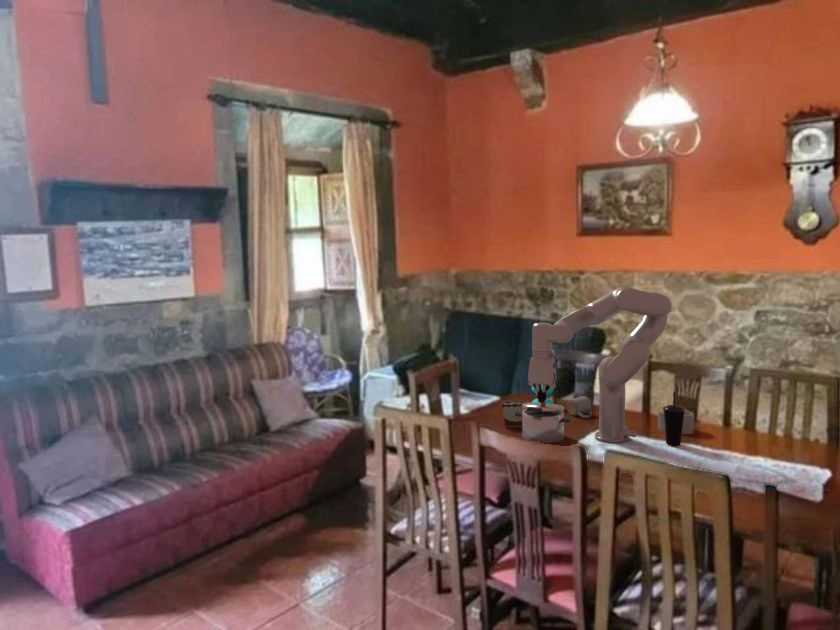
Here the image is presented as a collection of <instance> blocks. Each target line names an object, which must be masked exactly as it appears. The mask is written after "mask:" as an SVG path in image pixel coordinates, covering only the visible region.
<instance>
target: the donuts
mask: <svg viewBox="0 0 840 630" xmlns="http://www.w3.org/2000/svg"><path fill="white" fill-rule="evenodd" d="M541 387H542V388H543V385H542V384H541ZM554 389H555V388H550V389H548V390H547V391H546V395H550V394H552V393H553V392H554ZM531 391H532V393H534V394H536V395H537V391H536V389H535V388H534V387H533V386H531ZM545 402H546V403H548V404H555V403H554V401H553V400H552V399H550V398H547V397H546V400H545ZM531 403H541V402H538V399H537V398H535V399H533V400H532V401H531Z"/></svg>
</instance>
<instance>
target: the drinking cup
mask: <svg viewBox="0 0 840 630" xmlns="http://www.w3.org/2000/svg"><path fill="white" fill-rule="evenodd" d="M672 394H673V395H672V396H673V397H672V398H673V399H672V400H673V402H672V404H669V405H665V406H663V407H662V409H663V410H664V419H665V431H664V432H665V444H666V445H667V444H668V445H667V446H669V445H671V446H670V447H680V446H681V443H682V442H681V441H682V435H683V434H682V427H683V419H684V411H685V409H686V408H685V407H684V406H680V405H678V404H676V390H673V393H672ZM683 407H684V408H683Z"/></svg>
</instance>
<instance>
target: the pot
mask: <svg viewBox="0 0 840 630" xmlns="http://www.w3.org/2000/svg"><path fill="white" fill-rule="evenodd" d="M564 411H565V410H564ZM564 411H559V412H545V411H542V412H535V411H527V409H524V410H523V411H522V412H516V413H515V416H517V417H522V427H521V429H522V431H521V432H522V433H521V434H522V435H521V437H523V438H524V440H525V439H527V440H533V441H540V442H543V443H542V444H555V443H559V442H562V441H563V440H564V439H565V424H566V423H567V424H570V423H571V422H572V421H573V418H572V417H570V416H569V417H568V416H565V412H564ZM523 438H522V439H523ZM527 440H526V441H527Z"/></svg>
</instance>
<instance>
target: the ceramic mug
mask: <svg viewBox="0 0 840 630" xmlns="http://www.w3.org/2000/svg"><path fill="white" fill-rule="evenodd" d="M566 410H567V412H568V414H570V415H571V416H574V417H577V416H579V417H581V418H583V419H590V418H591V417H592V413H593V412H592V404H591V401H590V399H589V398H588V397H587V396H585V395H582V396H579V397H576V398H572V399H570V400H568V401H567V403H566Z"/></svg>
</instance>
